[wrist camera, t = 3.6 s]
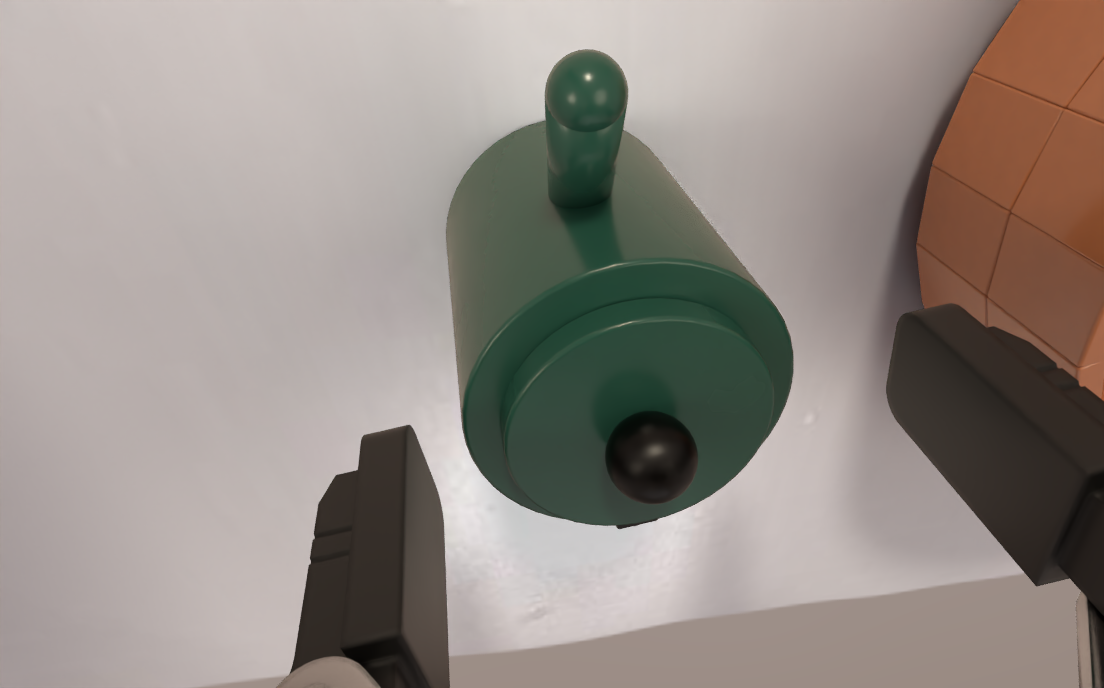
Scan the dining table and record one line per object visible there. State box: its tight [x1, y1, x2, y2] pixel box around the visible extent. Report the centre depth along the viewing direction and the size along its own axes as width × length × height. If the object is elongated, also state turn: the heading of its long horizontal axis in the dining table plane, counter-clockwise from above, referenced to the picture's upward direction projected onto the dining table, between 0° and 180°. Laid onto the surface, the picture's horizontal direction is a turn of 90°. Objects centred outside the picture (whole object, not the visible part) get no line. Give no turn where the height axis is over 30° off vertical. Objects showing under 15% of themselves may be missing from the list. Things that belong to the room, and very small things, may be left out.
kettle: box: [446, 49, 793, 529], centre depth 13 cm, size 10×6×8 cm, turn 9°
